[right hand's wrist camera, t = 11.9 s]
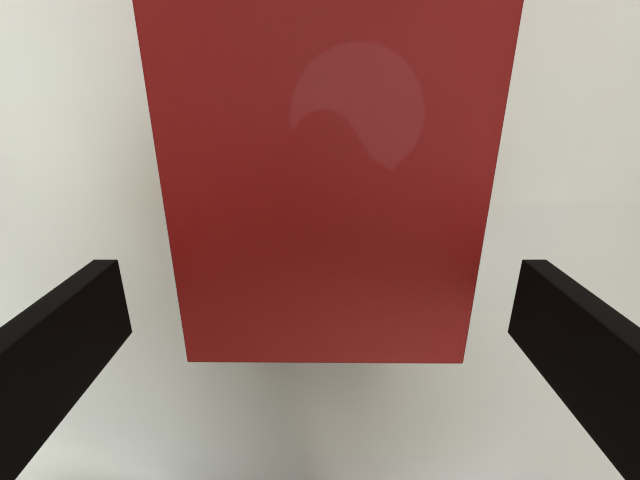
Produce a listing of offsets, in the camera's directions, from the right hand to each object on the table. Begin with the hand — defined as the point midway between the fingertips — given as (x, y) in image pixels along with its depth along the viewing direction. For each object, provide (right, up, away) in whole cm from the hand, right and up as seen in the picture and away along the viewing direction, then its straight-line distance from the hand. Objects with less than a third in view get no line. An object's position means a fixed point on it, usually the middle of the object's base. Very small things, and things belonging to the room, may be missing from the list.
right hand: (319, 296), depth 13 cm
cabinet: (0, +9, +10) cm, 13 cm away
